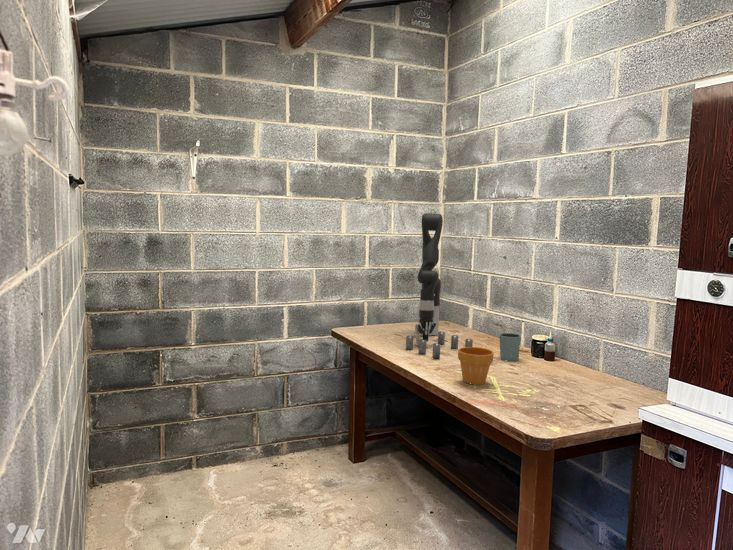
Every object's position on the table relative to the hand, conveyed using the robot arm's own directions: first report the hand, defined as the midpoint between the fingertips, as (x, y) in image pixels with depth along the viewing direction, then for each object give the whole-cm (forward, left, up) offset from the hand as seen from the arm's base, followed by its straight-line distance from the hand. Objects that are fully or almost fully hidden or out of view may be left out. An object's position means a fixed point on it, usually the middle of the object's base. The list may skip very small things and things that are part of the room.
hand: (425, 341), depth 274 cm
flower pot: (+56, -23, -3) cm, 61 cm away
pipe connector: (-4, -1, -3) cm, 6 cm away
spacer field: (+10, 0, -3) cm, 11 cm away
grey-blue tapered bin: (+38, +20, -3) cm, 43 cm away
